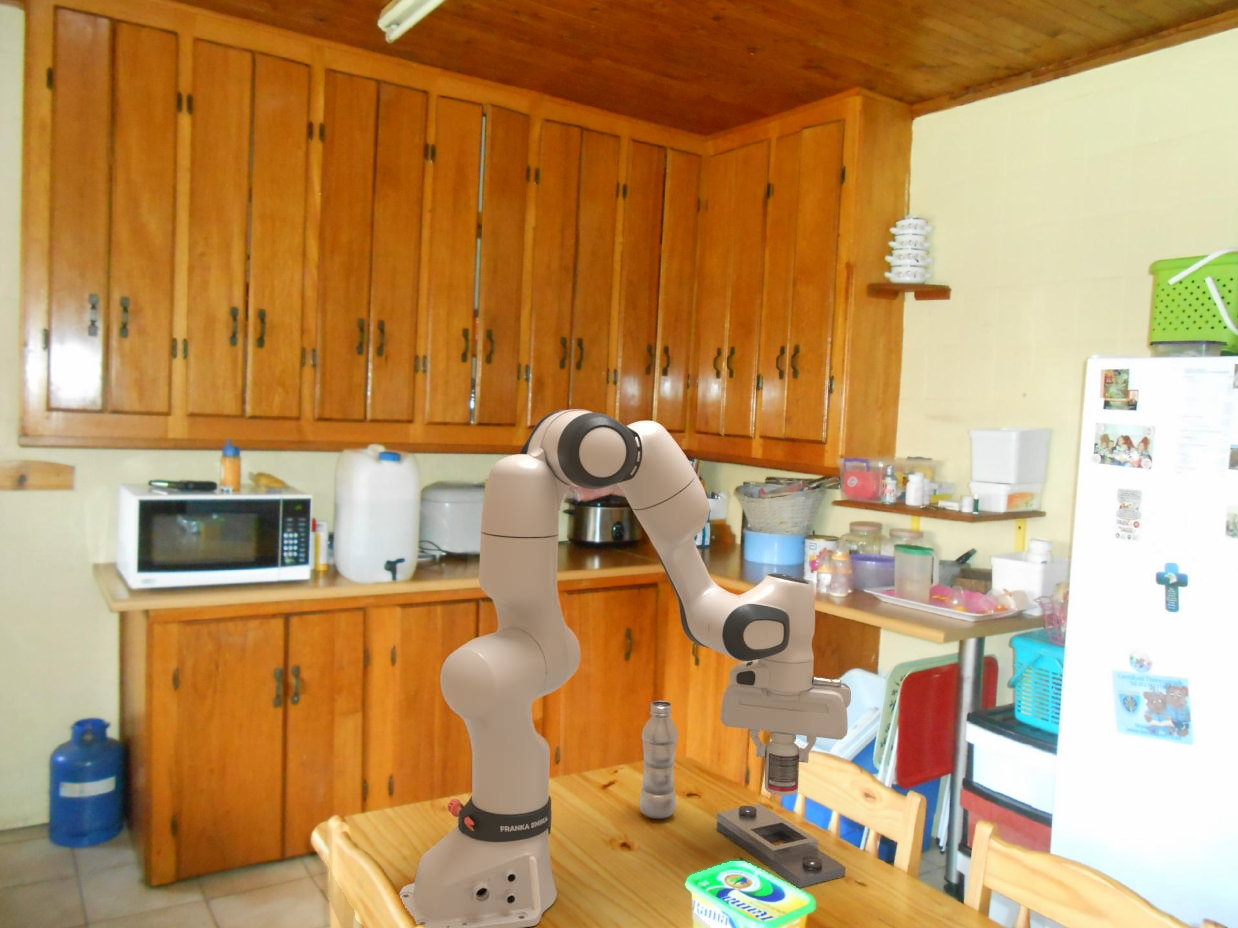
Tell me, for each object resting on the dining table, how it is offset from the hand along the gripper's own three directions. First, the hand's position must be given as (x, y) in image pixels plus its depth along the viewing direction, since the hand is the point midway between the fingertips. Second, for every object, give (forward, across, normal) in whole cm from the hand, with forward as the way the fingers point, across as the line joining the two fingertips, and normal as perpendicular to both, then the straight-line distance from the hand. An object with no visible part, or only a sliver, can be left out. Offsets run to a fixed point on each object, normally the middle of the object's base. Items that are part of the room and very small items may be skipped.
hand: (782, 758), depth 152 cm
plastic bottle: (+15, +22, -7) cm, 28 cm away
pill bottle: (+5, 0, 0) cm, 5 cm away
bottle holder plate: (+15, 0, 0) cm, 15 cm away
